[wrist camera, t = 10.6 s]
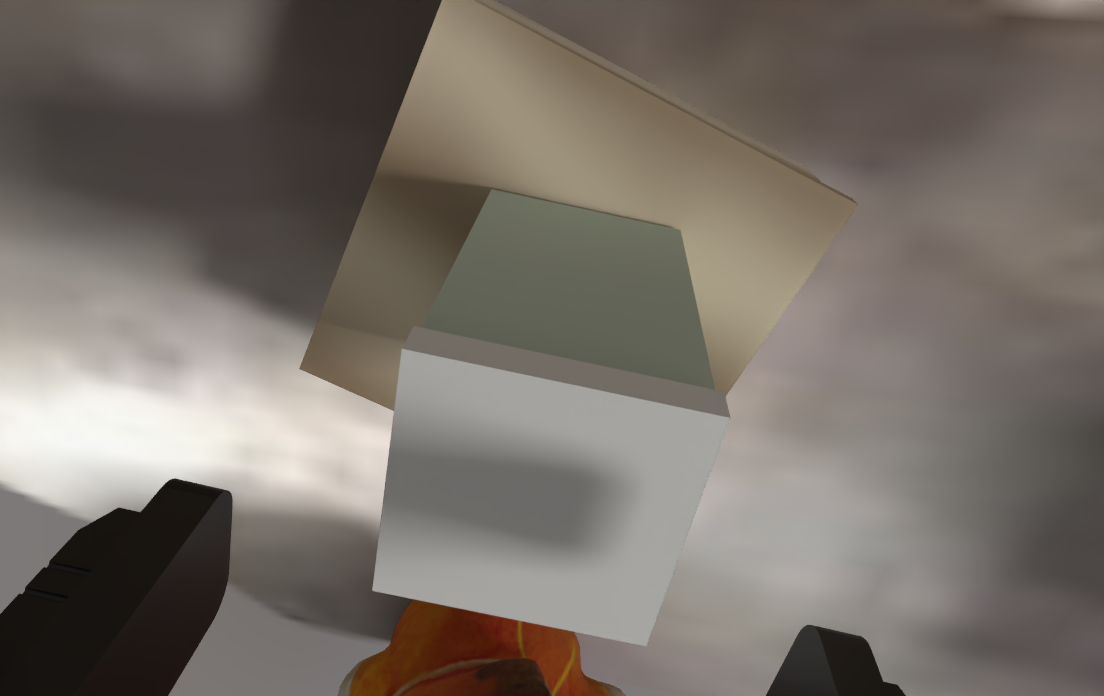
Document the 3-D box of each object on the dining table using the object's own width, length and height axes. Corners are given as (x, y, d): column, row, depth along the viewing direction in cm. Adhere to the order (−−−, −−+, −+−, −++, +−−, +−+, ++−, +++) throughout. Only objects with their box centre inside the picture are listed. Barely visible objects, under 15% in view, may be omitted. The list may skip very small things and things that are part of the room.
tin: (488, 184, 20) (401, 348, 12) (685, 226, 20) (730, 418, 12) (460, 357, 22) (372, 591, 14) (636, 394, 23) (646, 646, 15)
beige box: (479, -18, 23) (447, -14, 18) (812, 161, 24) (858, 204, 20) (350, 303, 27) (299, 368, 23) (635, 435, 29) (639, 520, 25)
